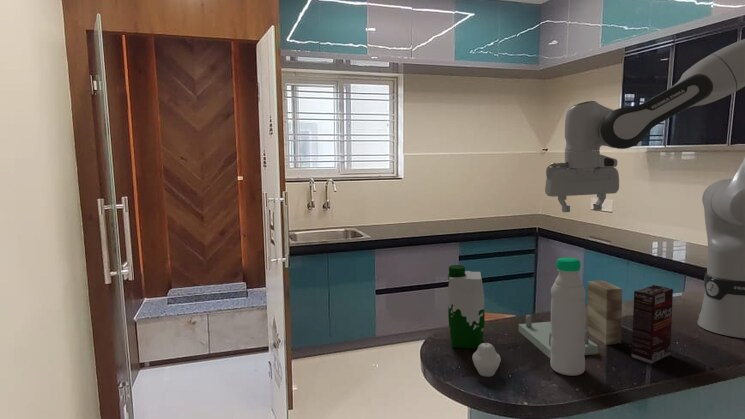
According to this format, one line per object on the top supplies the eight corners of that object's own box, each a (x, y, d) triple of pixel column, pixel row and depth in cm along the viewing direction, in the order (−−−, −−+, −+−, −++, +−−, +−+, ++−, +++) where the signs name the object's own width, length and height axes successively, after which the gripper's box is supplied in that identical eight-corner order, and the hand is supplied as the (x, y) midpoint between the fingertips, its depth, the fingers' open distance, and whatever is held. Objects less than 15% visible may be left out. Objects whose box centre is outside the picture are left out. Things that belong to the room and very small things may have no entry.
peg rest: (560, 327, 124) (560, 310, 124) (597, 353, 108) (598, 333, 107) (518, 331, 123) (518, 313, 123) (549, 358, 106) (549, 337, 106)
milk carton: (449, 335, 122) (448, 262, 120) (484, 336, 120) (483, 263, 118) (448, 348, 114) (446, 271, 111) (485, 350, 112) (484, 271, 110)
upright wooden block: (601, 331, 121) (602, 280, 119) (620, 343, 113) (622, 288, 111) (587, 332, 120) (587, 281, 119) (605, 344, 113) (606, 289, 111)
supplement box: (652, 365, 101) (654, 295, 99) (630, 357, 105) (632, 290, 103) (672, 355, 105) (674, 288, 104) (650, 348, 110) (652, 284, 108)
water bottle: (556, 377, 97) (557, 263, 94) (546, 362, 104) (546, 255, 101) (590, 376, 97) (592, 262, 94) (577, 362, 104) (578, 255, 101)
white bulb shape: (467, 375, 100) (466, 344, 99) (480, 364, 104) (479, 335, 104) (493, 383, 96) (493, 351, 95) (505, 372, 100) (505, 341, 100)
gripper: (552, 163, 121) (552, 214, 123) (623, 160, 124) (622, 210, 125) (540, 163, 128) (541, 212, 129) (608, 160, 130) (608, 208, 131)
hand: (581, 211), depth 127 cm, fingers open, 8 cm apart
